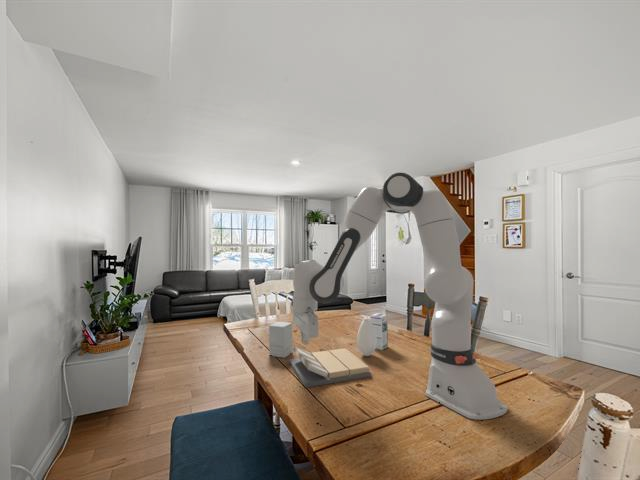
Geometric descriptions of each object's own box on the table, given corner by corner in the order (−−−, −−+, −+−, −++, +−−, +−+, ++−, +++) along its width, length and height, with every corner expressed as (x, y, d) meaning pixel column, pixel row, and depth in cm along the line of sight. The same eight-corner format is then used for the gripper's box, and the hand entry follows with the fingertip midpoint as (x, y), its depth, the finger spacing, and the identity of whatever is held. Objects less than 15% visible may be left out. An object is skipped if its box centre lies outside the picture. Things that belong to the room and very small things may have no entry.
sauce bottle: (354, 357, 122) (354, 312, 122) (361, 351, 129) (360, 309, 129) (373, 360, 118) (372, 314, 119) (378, 354, 125) (378, 310, 126)
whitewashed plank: (326, 377, 100) (328, 373, 100) (308, 369, 97) (310, 365, 98) (308, 356, 118) (310, 352, 119) (292, 349, 116) (294, 346, 117)
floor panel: (371, 376, 104) (371, 367, 104) (305, 387, 96) (305, 378, 96) (345, 354, 125) (345, 347, 125) (288, 362, 117) (288, 354, 117)
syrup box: (382, 350, 130) (382, 316, 130) (370, 347, 133) (370, 314, 133) (388, 346, 134) (387, 314, 134) (376, 344, 138) (375, 312, 138)
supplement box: (293, 352, 128) (292, 322, 128) (283, 358, 121) (283, 327, 121) (278, 350, 131) (278, 320, 131) (268, 355, 124) (268, 325, 124)
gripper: (323, 310, 99) (323, 352, 99) (305, 299, 119) (305, 334, 119) (305, 311, 97) (304, 354, 97) (290, 300, 117) (289, 335, 116)
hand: (304, 343), depth 108 cm, fingers closed
